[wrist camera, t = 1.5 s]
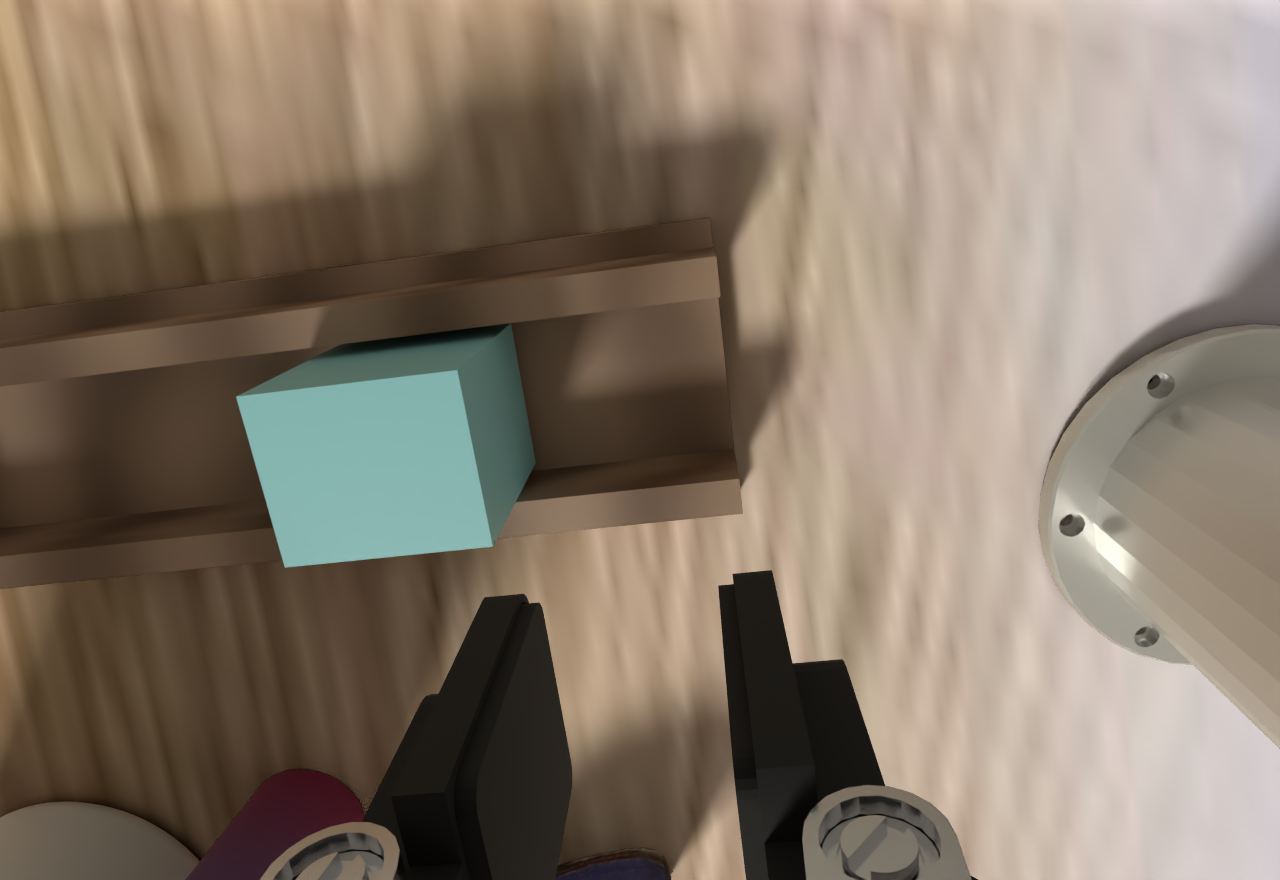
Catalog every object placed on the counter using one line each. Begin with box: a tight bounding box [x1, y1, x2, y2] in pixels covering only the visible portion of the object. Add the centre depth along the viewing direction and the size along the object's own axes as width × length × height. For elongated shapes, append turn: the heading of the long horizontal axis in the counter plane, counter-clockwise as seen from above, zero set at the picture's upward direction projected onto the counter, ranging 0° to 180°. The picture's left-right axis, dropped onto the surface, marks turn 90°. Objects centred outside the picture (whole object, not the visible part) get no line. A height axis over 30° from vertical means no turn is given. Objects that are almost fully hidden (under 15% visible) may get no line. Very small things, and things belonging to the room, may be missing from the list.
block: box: [236, 323, 536, 568], centre depth 26 cm, size 6×5×7 cm
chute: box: [0, 218, 743, 589], centre depth 29 cm, size 30×10×4 cm, turn 98°
